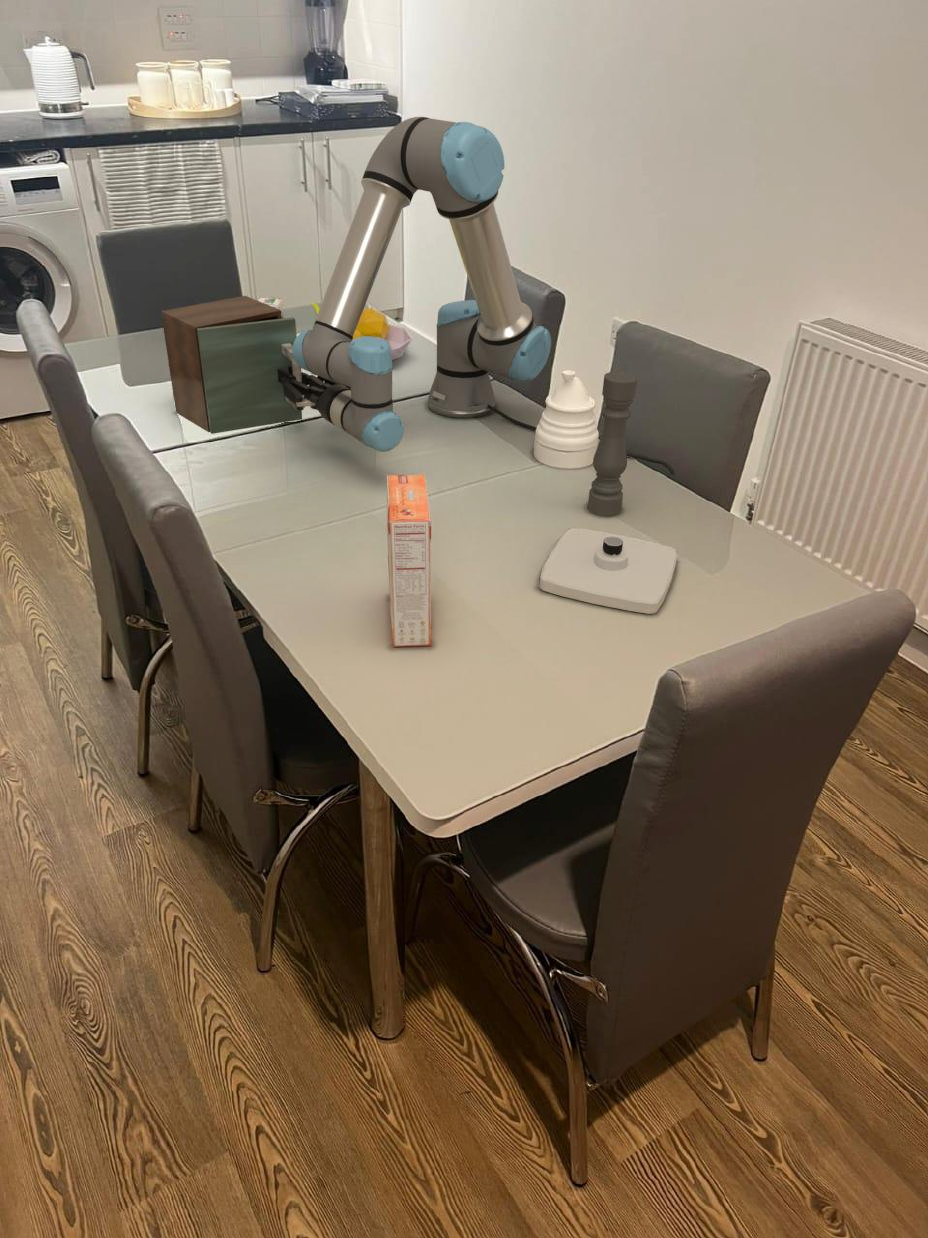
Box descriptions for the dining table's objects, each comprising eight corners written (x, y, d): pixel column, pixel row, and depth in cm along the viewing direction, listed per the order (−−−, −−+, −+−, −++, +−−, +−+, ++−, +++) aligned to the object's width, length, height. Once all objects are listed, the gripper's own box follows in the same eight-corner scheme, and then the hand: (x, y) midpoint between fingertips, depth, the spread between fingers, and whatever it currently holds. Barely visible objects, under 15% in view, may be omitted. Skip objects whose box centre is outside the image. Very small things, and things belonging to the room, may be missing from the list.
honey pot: (579, 474, 185) (588, 385, 175) (522, 458, 190) (528, 371, 180) (606, 452, 194) (617, 367, 184) (551, 437, 199) (558, 354, 189)
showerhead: (532, 591, 148) (658, 619, 142) (535, 557, 144) (664, 584, 139) (565, 535, 163) (680, 558, 158) (569, 503, 160) (686, 526, 155)
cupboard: (289, 410, 208) (281, 310, 195) (208, 432, 196) (195, 327, 184) (254, 392, 216) (245, 295, 204) (175, 412, 204) (160, 310, 192)
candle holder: (623, 504, 174) (642, 373, 160) (617, 519, 169) (635, 385, 155) (591, 498, 176) (606, 368, 162) (583, 513, 171) (599, 380, 157)
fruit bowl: (431, 364, 236) (431, 319, 229) (335, 383, 222) (333, 336, 216) (375, 335, 254) (374, 292, 248) (284, 350, 241) (281, 306, 235)
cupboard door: (313, 430, 198) (307, 328, 186) (220, 446, 190) (207, 340, 178) (300, 417, 204) (293, 317, 192) (209, 431, 196) (196, 328, 184)
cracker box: (388, 596, 145) (385, 472, 134) (426, 595, 146) (427, 472, 134) (389, 648, 134) (387, 518, 122) (431, 647, 134) (433, 518, 123)
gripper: (312, 435, 178) (254, 398, 193) (377, 418, 186) (316, 384, 201) (309, 397, 174) (250, 362, 189) (376, 382, 182) (314, 349, 197)
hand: (284, 373), depth 195 cm, fingers closed on cupboard door, 2 cm apart
